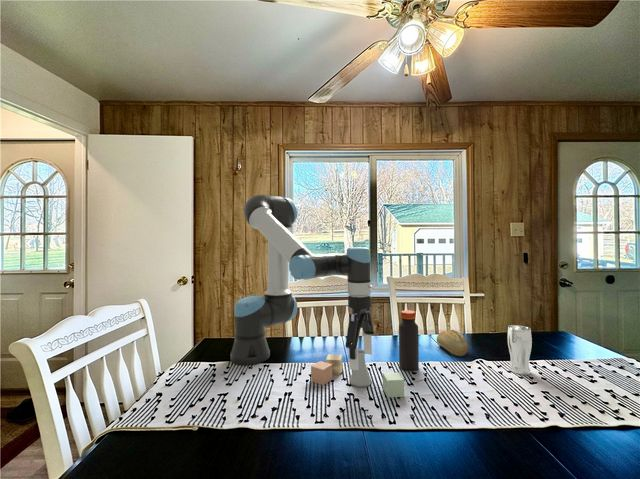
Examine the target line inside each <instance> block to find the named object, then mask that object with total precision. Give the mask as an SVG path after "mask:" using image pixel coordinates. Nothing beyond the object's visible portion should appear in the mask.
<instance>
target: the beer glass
mask: <svg viewBox="0 0 640 479" xmlns="http://www.w3.org/2000/svg"><path fill="white" fill-rule="evenodd" d="M531 329H532V328H530V327H528V326H525V325H518V324H511V325H508V326H507V346H508V352H509V355H510V363H509V368H508V369H509V371H510V372H512V373H514V374H516V375H520V376H521V375H522V376H527V375H528V376H529V375H530V374H531V368H530V357H531V352H532V346H533V345H532V343H533V341H532V340H533V338H532V330H531Z"/></svg>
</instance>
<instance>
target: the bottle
mask: <svg viewBox="0 0 640 479" xmlns="http://www.w3.org/2000/svg"><path fill="white" fill-rule="evenodd" d="M400 313H401V314H400V315H401V316H400V317H401V322H400V323H399V324H398V367H399V368H400V369H401V370H403V371H408V372H415V371H418V370H419V367H420V366H419V364H420V363H419V359H420V358H419V357H420V356H419V353H420V352H419V325H418V324H417V323H416V311H415V310H410V309H409V310H408V309H405V310H401V311H400Z"/></svg>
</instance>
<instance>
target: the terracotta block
mask: <svg viewBox="0 0 640 479" xmlns="http://www.w3.org/2000/svg"><path fill="white" fill-rule="evenodd" d="M310 371H311V372H310V374H311V375H310V381H311V382H313V383H316V384H318V385H321V386H324V385H326V384H327V383H329V382H330V381H332V380H333V374H332V364H329V363H326V361H323V360H322V361H321V360H319V361H318V362H315V363H313V364H312V365H311V366H310Z"/></svg>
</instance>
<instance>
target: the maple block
mask: <svg viewBox="0 0 640 479" xmlns="http://www.w3.org/2000/svg"><path fill="white" fill-rule="evenodd" d="M325 363H329V364H332V375H339V376H341V375H342V371H343V354H337V353H335V354H332V353H328V354H327V356H326V359H325Z"/></svg>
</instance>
